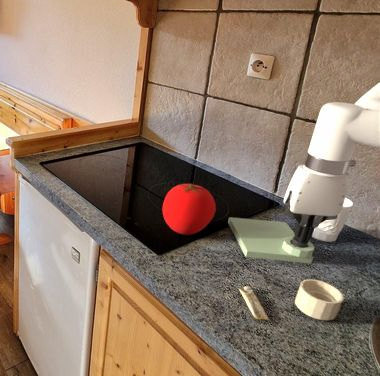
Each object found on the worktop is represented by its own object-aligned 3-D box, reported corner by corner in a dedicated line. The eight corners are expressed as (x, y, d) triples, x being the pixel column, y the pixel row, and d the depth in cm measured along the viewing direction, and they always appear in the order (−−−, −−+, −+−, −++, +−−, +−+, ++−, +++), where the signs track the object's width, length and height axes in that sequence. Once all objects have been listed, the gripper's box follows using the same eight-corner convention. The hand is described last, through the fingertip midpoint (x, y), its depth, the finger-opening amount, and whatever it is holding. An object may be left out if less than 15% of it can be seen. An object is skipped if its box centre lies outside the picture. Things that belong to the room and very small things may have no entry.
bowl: (325, 299, 80) (332, 281, 78) (342, 324, 73) (351, 305, 72) (288, 295, 80) (294, 277, 79) (302, 320, 74) (310, 300, 72)
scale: (286, 228, 105) (289, 216, 103) (314, 265, 90) (319, 252, 89) (227, 222, 107) (230, 211, 105) (246, 258, 92) (249, 245, 90)
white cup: (343, 245, 98) (358, 209, 93) (306, 239, 100) (319, 203, 96) (334, 230, 104) (347, 195, 100) (299, 224, 107) (311, 190, 102)
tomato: (158, 237, 99) (166, 191, 94) (160, 215, 109) (167, 172, 104) (211, 246, 96) (222, 199, 91) (208, 223, 106) (218, 179, 101)
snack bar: (272, 321, 73) (257, 315, 73) (267, 326, 74) (252, 321, 73) (251, 286, 81) (238, 281, 81) (247, 291, 82) (234, 286, 82)
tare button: (302, 243, 93) (304, 236, 92) (308, 250, 90) (310, 243, 90) (288, 241, 93) (290, 235, 93) (293, 249, 91) (296, 242, 90)
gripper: (355, 159, 86) (329, 234, 94) (280, 155, 88) (260, 228, 96) (376, 173, 79) (345, 252, 87) (294, 168, 81) (271, 245, 89)
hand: (301, 239), depth 91 cm, fingers closed
